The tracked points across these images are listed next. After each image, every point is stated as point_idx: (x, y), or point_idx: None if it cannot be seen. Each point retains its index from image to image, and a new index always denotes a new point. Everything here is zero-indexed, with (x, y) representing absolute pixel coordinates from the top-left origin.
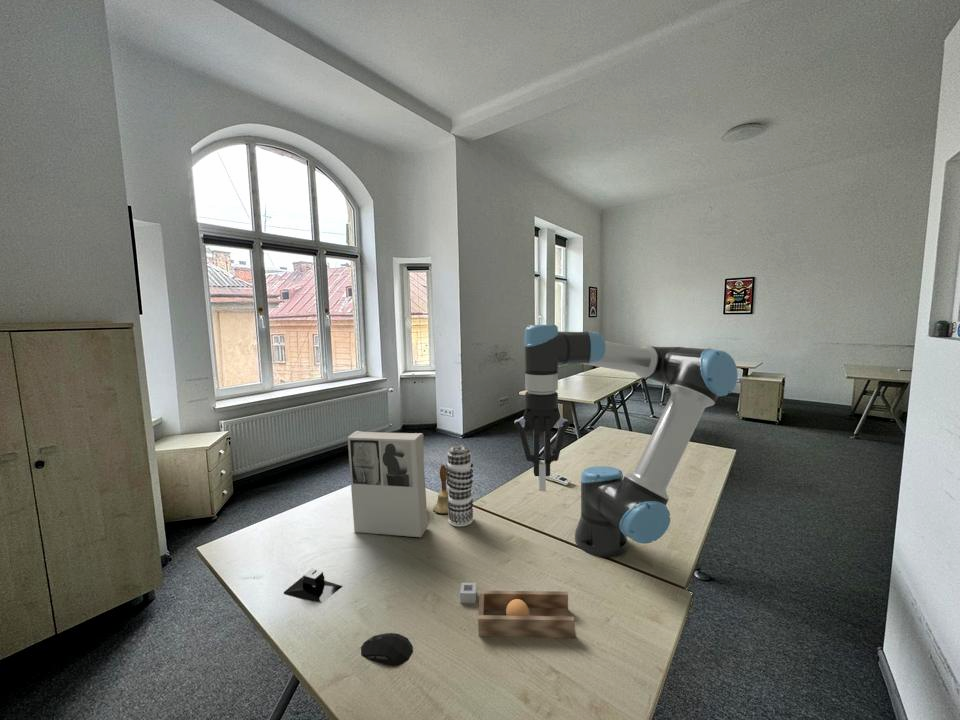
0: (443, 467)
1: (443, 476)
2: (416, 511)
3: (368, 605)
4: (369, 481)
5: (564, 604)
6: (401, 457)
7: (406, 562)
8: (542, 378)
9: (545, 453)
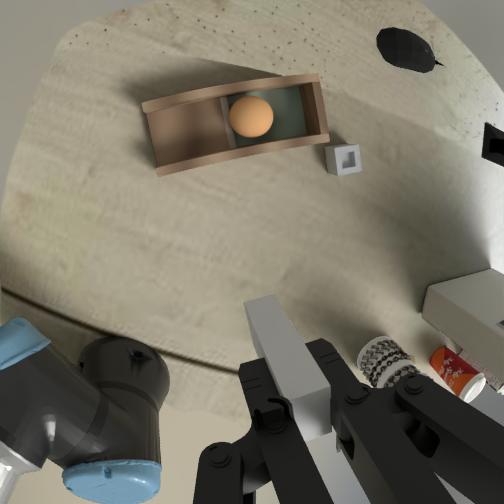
0: None
1: None
2: (461, 304)
3: (451, 129)
4: None
5: (164, 164)
6: None
7: (435, 224)
8: None
9: (315, 468)
